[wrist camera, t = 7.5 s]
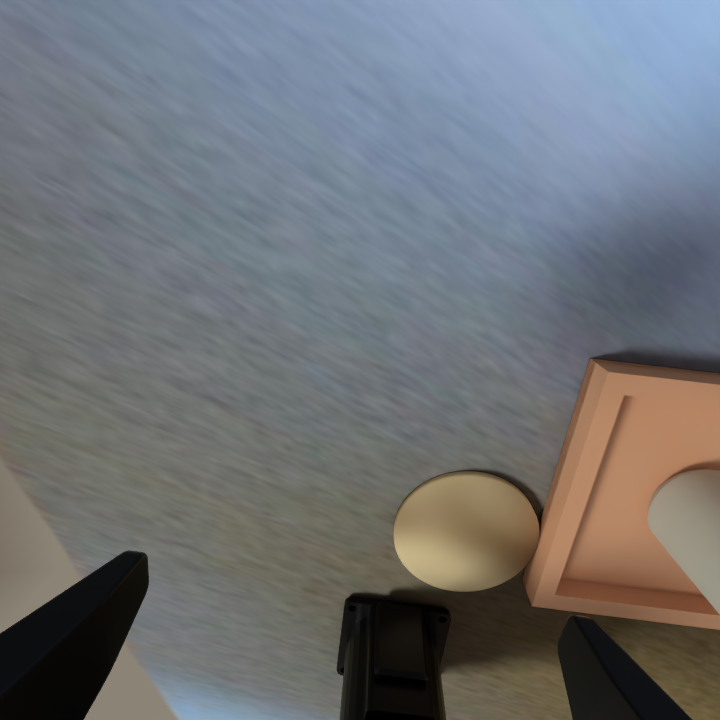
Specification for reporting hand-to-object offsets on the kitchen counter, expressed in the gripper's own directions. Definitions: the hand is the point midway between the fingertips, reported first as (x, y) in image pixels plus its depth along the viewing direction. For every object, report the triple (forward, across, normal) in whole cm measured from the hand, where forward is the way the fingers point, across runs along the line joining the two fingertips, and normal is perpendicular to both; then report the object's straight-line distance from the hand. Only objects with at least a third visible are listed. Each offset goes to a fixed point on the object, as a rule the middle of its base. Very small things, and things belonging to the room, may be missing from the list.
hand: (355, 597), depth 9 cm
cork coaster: (+13, -6, +9) cm, 17 cm away
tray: (+13, -17, +5) cm, 22 cm away
